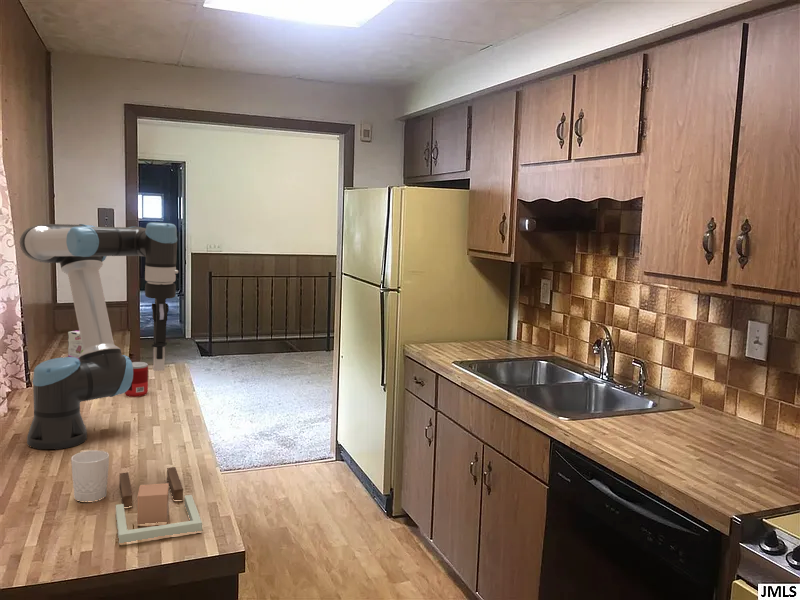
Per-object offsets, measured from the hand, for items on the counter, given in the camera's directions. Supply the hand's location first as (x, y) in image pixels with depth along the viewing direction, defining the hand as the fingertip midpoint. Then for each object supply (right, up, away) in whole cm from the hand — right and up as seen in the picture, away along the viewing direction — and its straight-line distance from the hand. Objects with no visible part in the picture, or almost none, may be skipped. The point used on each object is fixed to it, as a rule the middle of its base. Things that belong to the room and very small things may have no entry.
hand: (158, 369), depth 174 cm
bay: (+11, -30, -32) cm, 45 cm away
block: (+10, -30, -30) cm, 44 cm away
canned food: (-31, -16, +62) cm, 71 cm away
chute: (+4, -28, -17) cm, 33 cm away
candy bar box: (-62, -11, +88) cm, 108 cm away
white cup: (-8, -28, -21) cm, 36 cm away
